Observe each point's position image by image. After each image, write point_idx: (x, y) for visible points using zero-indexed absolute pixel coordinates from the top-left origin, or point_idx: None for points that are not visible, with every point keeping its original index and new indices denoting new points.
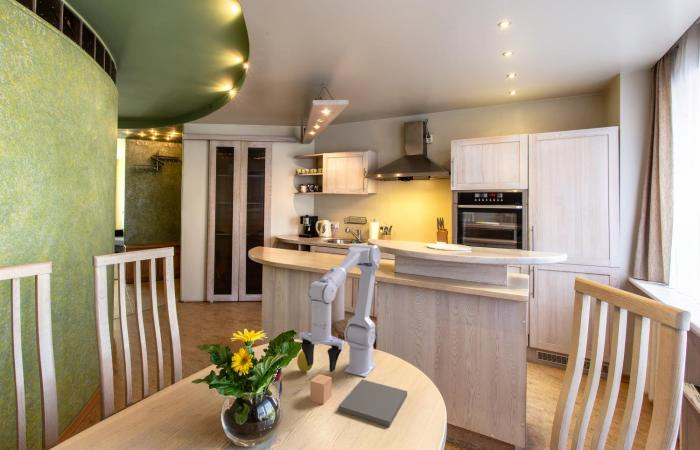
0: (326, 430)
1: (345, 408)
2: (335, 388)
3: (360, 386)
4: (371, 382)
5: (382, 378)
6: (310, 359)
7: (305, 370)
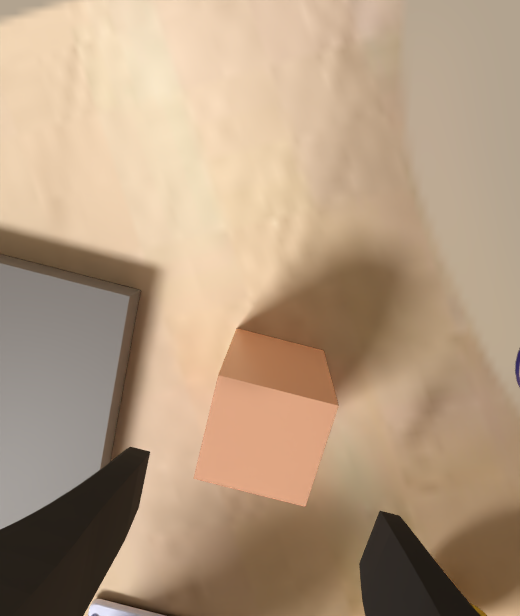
0: (150, 108)
1: (86, 284)
2: None
3: None
4: None
5: None
6: (390, 584)
7: None
